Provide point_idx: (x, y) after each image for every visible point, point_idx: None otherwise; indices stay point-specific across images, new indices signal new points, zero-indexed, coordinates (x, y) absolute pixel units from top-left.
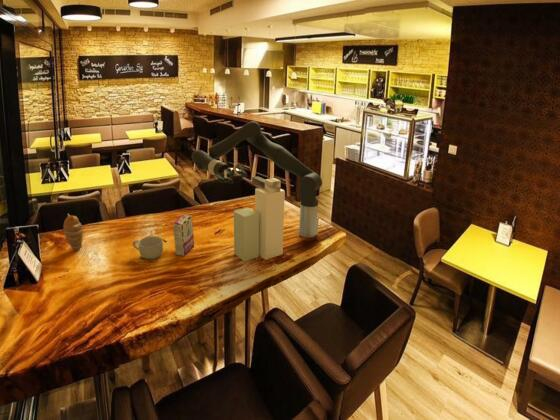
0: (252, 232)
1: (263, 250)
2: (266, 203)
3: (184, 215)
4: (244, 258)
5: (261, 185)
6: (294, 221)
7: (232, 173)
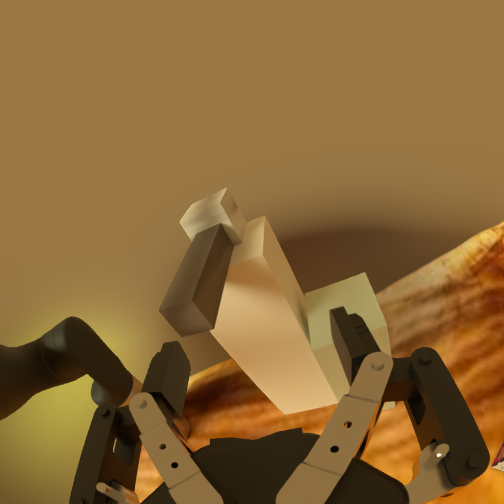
0: None
1: None
2: (278, 244)
3: None
4: None
5: (223, 259)
6: (138, 497)
7: (239, 445)
